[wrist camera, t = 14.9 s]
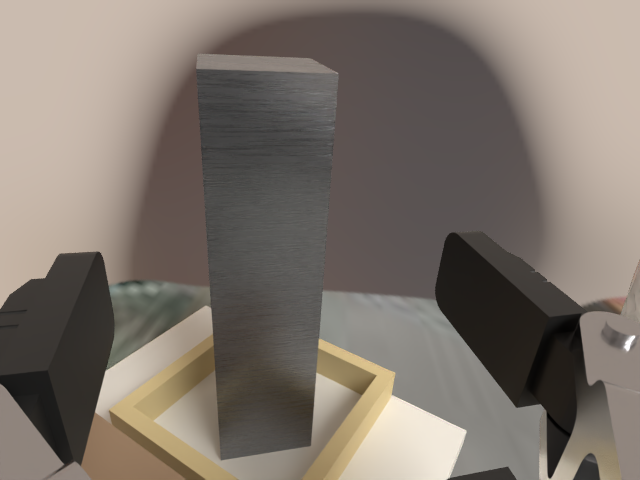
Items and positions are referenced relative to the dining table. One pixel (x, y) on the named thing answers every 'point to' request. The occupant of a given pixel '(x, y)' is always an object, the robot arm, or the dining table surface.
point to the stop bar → (265, 240)
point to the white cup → (633, 298)
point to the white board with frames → (269, 468)
